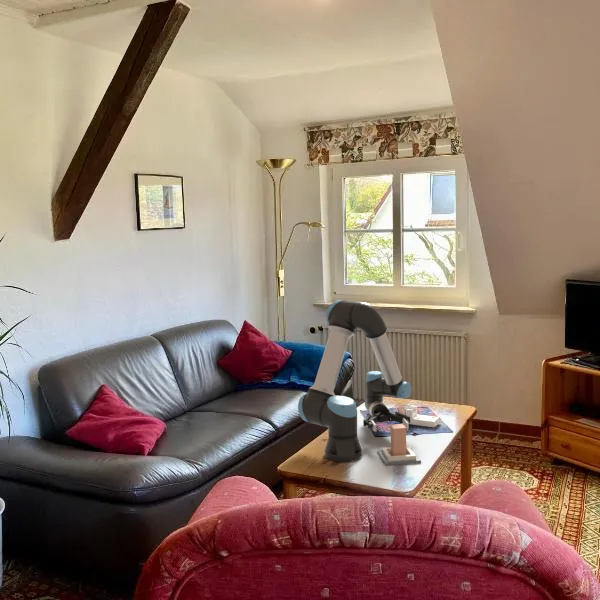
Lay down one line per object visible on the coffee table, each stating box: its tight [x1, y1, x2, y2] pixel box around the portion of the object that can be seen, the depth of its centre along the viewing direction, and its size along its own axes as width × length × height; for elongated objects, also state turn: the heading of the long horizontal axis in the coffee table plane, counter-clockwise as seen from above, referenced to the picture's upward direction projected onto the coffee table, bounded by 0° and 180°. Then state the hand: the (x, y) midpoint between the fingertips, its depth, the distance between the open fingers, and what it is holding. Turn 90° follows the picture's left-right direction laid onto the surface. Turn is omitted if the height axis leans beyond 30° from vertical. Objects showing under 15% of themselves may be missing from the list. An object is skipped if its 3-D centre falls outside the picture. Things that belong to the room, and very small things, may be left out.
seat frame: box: [376, 445, 422, 466], centre depth 264 cm, size 14×14×2 cm
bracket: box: [406, 405, 440, 428], centre depth 303 cm, size 13×7×8 cm, turn 61°
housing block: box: [389, 423, 407, 456], centre depth 264 cm, size 5×5×12 cm
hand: (391, 427), depth 274 cm, fingers open, 13 cm apart
